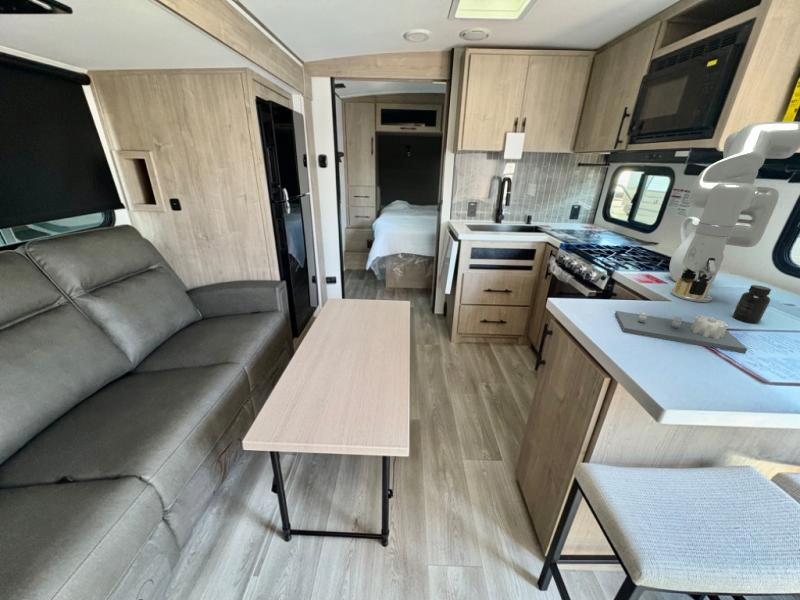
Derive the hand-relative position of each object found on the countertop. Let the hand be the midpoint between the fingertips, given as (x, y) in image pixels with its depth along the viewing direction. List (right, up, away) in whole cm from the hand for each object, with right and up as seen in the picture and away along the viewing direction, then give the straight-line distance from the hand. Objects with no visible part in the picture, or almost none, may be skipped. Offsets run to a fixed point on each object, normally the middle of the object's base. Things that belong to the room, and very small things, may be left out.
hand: (690, 289), depth 98 cm
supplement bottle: (+33, -10, +16) cm, 38 cm away
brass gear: (0, -1, +1) cm, 1 cm away
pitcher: (+45, +6, +54) cm, 70 cm away
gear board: (0, -13, +6) cm, 15 cm away
